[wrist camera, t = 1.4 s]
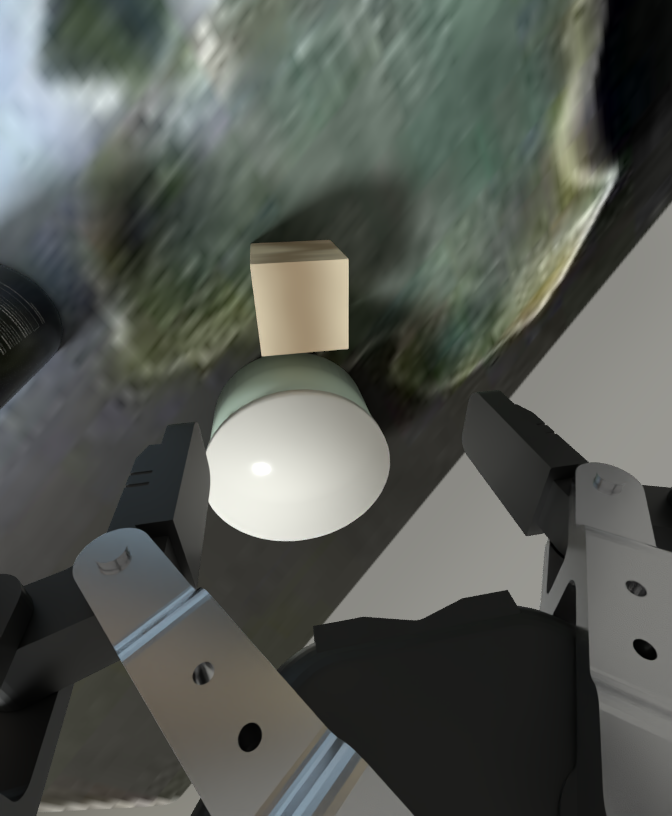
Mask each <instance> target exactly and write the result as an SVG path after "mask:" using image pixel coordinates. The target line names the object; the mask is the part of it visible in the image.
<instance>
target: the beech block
mask: <svg viewBox="0 0 672 816" xmlns="http://www.w3.org/2000/svg"><path fill="white" fill-rule="evenodd" d="M250 268H251V276H252V284H253V292H254V299H255V307H256V315H257V323H258V331H259V338H260V346H261V354H262V356H273V355H284V354H296V353H307V352H319V351H330V350H341V349H349V259H348V258H347V257H346V256H345V255H344V254H343V253H342V252H341V251H340V250H339V249H338V248H337V247H336V246H335V245H334V244H333V243H332V241H331V240H314V241H293V242H273V243H252V244H251V250H250Z"/></svg>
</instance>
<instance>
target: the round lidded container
mask: <svg viewBox="0 0 672 816" xmlns="http://www.w3.org/2000/svg"><path fill="white" fill-rule="evenodd" d="M206 456H207V460H208V464H209V469H210V493H209V500H208V502H209V503H210V505H211V507H212V508H213V509H214V511H215V512H216V513H217V514H218V515H219V516H220V517H221V518H222V519H223V520H224V521H225V522H227V523H228V524H229V525H231V526H232V527H234V528H236V529H238V530H239V531H241V532H244V533H246V534H249V535H251V536H255V537H258V538H262V539H268V540H276V541H297V540H306V539H311V538H316V537H319V536H323V535H326V534H329V533H331V532H334V531H336V530H338V529H340V528H342V527H345V526H346V525H348V524H350V523H351V522H353V521H354V520H356V519H357V518H358V517H360V516H361V515H362V514H363V513H364V512H366V511H367V510H368V509H369V508H370V507H371V505H372V504H373V503H374V502H375V501H376V499H377V498H378V496H379V495H380V493H381V492H382V490H383V488H384V486H385V484H386V481H387V477H388V474H389V468H390V455H389V449H388V445H387V442H386V440H385V437H384V435H383V433H382V431H381V429H380V428H379V426H378V424H377V422H376V421H375V420H374V419H373V417H372V416H371V414H370V412H369V410H368V408H367V406H366V404H365V402H364V399H363V397H362V395H361V393H360V391H359V389H358V387H357V385H356V383H355V382H354V380H353V379H352V378H351V377H350V375H349V374H348V373H347V372H346V371H345V370H344V369H342V368H341V367H340V366H338V365H337V364H335V363H334V362H332V361H330V360H328V359H326V358H323V357H320V356H318V355H314V354H309V353H296V354H284V355H273V356H265V357H262V358H260V359H257V360H255V361H253V362H251V363H249V364H247V365H246V366H244V367H243V368H242V369H240V370H239V371H238V372H236V373H235V374H234V375H233V376H232V377H231V378H230V379H229V381H228V382H227V383H226V385H225V386H224V387H223V389H222V391H221V393H220V395H219V397H218V400H217V403H216V408H215V413H214V420H213V426H212V432H211V439H210V441H209V444H208V446H207V449H206Z"/></svg>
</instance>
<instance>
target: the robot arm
mask: <svg viewBox="0 0 672 816" xmlns="http://www.w3.org/2000/svg"><path fill="white" fill-rule="evenodd" d="M462 443H463V448H464V450H465V453H466V454H467V456H468V457H469V459H470V460H471V461H472V463H473V464H474V465H475V467H476V468H477V470H478V471H479V472H480V474H481V475H482V476H483V478H484V479H485V480H486V482H487V483H488V485H489V486H490V487H491V489H492V490H493V491H494V493H495V494H496V495H497V497H498V498H499V500H500V501H501V502H502V504H503V505H504V506H505V508H506V509H507V511H508V512H509V513H510V515H511V516H512V517H513V518H514V520H515V522H516V523H517V524H518V526H519V527H520V528H521V530H522V531H523V532H524V534H525V535H526V536H531V535H537V534H542V533H545V535H546V536H547V537H548V540H547V543H546V545H545V552H544V566H543V580H542V592H541V604H540V610H536V609H532V608H527V607H522V606H517V605H516V603H515V602H514V600H513V598H512V597H511V595H510V593H509V592H508V590H505V591H500V592H494V593H489V594H484V595H479V596H473V597H468V598H462V599H460V600H458V601H457V602H455V603H453V604H451V605H449V606H447V607H445V608H443V609H441V610H439V611H437V612H435V613H433V614H432V615H430V616H428V617H426V618H424V619H421V620H417V621H416V620H415V621H413V620H399V619H386V618H372V617H360V618H355V619H350V620H344V621H339V622H334V623H328V624H323V625H317V626H313V629H314V641H315V643H313V644H311V645H309V646H307V647H305V648H303V649H302V650H300V651H299V652H297V653H296V654H294V655H293V656H292V657H290V658H289V659H288V660H287V661H286V662H285V663H284V664H282V665H281V666H280V668H279V669H278V670H276V669H275V668H274V667H273V666H272V665H271V663H270V662H269V661H268V660H267V659H266V658H265V657H264V655H263V654H262V653H261V652H260V651H259V650H258V649H257V648H256V646H255V645H254V644H253V643H252V642H251V641H250V640H249V638H248V637H247V636H246V635H245V634H244V633H243V632H242V630H241V629H240V628H239V627H238V626H237V625H236V624H235V623H234V621H233V620H232V619H231V618H230V617H229V616H228V615H227V613H226V612H225V611H224V610H223V609H222V608H221V607H220V605H219V604H218V603H217V602H216V601H215V600H214V599H213V597H212V596H211V595H210V594H209V593H208V592H207V591H206V590H204V589H203V588H199V589H197V584H198V576H199V569H200V561H201V553H202V546H203V538H204V531H205V523H206V515H207V508H208V500H209V493H210V469H209V464H208V460H207V456H206V452H205V448H204V443H203V439H202V435H201V431H200V427H199V425H198V423H197V422H191V423H181V424H172V425H168V426H167V428H166V431H165V434H164V437H163V441H162V444H157V445H149V446H148V447H147V448H146V449H145V450H144V451H143V452H142V453H141V454H140V455H139V456H138V457H137V458H136V460H135V463H134V465H133V468H132V470H131V476H129V478H128V480H127V483H126V488H124V491H123V493H122V496H121V498H120V501H119V503H118V506H117V508H116V511H115V513H114V516H113V518H112V521H111V524H110V526H109V529H108V531H107V533H106V534H104V535H102V536H100V537H98V538H96V539H95V540H93V541H92V542H91V543H90V544H88V545H87V546H86V547H85V548H84V549H83V550H82V551H81V553H80V554H79V555H78V557H77V559H76V560H75V563H74V565H73V566H72V567H70V568H68V569H66V570H64V571H61V572H59V573H56V574H54V575H51V576H48V577H46V578H43V579H41V580H38V581H36V582H33V583H31V584H28V585H25V586H23V585H22V584H21V582H20V581H19V580H18V579H17V578H16V577H14V576H12V575H8V574H0V816H36V814H37V811H38V808H39V804H40V801H41V797H42V794H43V790H44V787H45V783H46V780H47V776H48V773H49V769H50V766H51V762H52V759H53V755H54V752H55V748H56V745H57V741H58V738H59V734H60V731H61V727H62V724H63V721H64V717H65V714H66V710H67V707H68V703H69V700H70V696H71V693H72V689H73V686H74V683H75V682H77V681H79V680H81V679H83V678H85V677H87V676H89V675H91V674H93V673H95V672H97V671H99V670H101V669H103V668H105V667H107V666H109V665H111V664H113V663H115V662H117V661H119V660H121V661H122V663H123V665H124V667H125V668H126V670H127V672H128V673H129V675H130V677H131V679H132V680H133V682H134V684H135V686H136V687H137V689H138V691H139V692H140V694H141V696H142V698H143V699H144V701H145V703H146V704H147V706H148V708H149V710H150V711H151V713H152V715H153V717H154V718H155V720H156V722H157V723H158V725H159V727H160V729H161V730H162V732H163V734H164V736H165V737H166V739H167V741H168V742H169V744H170V746H171V748H172V749H173V751H174V753H175V754H176V756H177V758H178V760H179V761H180V763H181V765H182V767H183V768H184V770H185V772H186V773H187V775H188V777H189V779H190V780H191V782H192V784H193V785H194V787H195V789H196V791H197V792H198V794H199V796H200V800H199V802H198V803H197V805H196V807H195V809H194V811H193V812H192V814H191V816H672V487H671V488H667V487H657V486H646V485H641V483H640V482H639V481H638V480H637V479H636V478H635V477H633V476H632V475H630V474H629V473H627V472H626V471H624V470H622V469H619V468H617V467H615V466H612V465H608V464H604V463H596V462H591V463H589V462H587V460H585V459H584V458H583V457H582V456H581V455H580V454H579V453H578V452H577V451H575V450H574V449H573V448H572V447H571V446H569V444H567V443H566V442H565V441H564V440H563V439H562V438H561V437H560V436H559V435H557V434H554V431H553V430H552V429H551V428H550V427H549V426H547V425H545V423H544V422H543V421H542V420H541V419H540V418H538V417H537V416H536V415H535V414H534V413H532V412H531V411H529V410H527V409H525V408H523V407H521V406H519V405H516V404H514V403H513V402H512V401H510V400H509V399H508V398H507V397H506V396H505V395H504V394H503V393H502V392H501V391H499V390H495V391H485V392H476V393H473V394H472V395H471V396H470V398H469V402H468V407H467V413H466V418H465V423H464V428H463V433H462Z"/></svg>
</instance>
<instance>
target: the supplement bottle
mask: <svg viewBox="0 0 672 816" xmlns="http://www.w3.org/2000/svg"><path fill="white" fill-rule="evenodd" d="M61 340H62V323H61V319H60V316H59V314H58V311H57V309H56V307H55V306H54V304H53V303H52V301H51V300H50V298H49V297H48V296H47V295H46V293H45V292H44V291H43V290H42V289H41V288H40V287H38V286H37V285H36V284H35V283H34V282H32V281H31V280H30V279H28V278H27V277H25V276H23V275H22V274H20V273H18V272H16V271H14V270H12V269H10V268H7V267H5V266H2V265H0V409H1V408H2V407H3V406H4V405H5V404H6V403H7V402H8V401H9V400H10V399H11V398H12V397H13V396H14V395H15V394H16V393H17V392H18V391H19V390H20V389H21V388H22V387H23V386H24V385H25V384H26V383H27V382H28V381H29V380H30V379H31V378H32V377H33V376H34V375H35V374H36V373H37V372H38V371H39V370H40V369H41V368H42V367H43V366H44V365H45V364H46V363H47V362H48V361H49V360H50V359H51V358H52V357H53V356H54V354H55V353H56V352H57V350H58V348H59V346H60V344H61Z"/></svg>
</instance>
